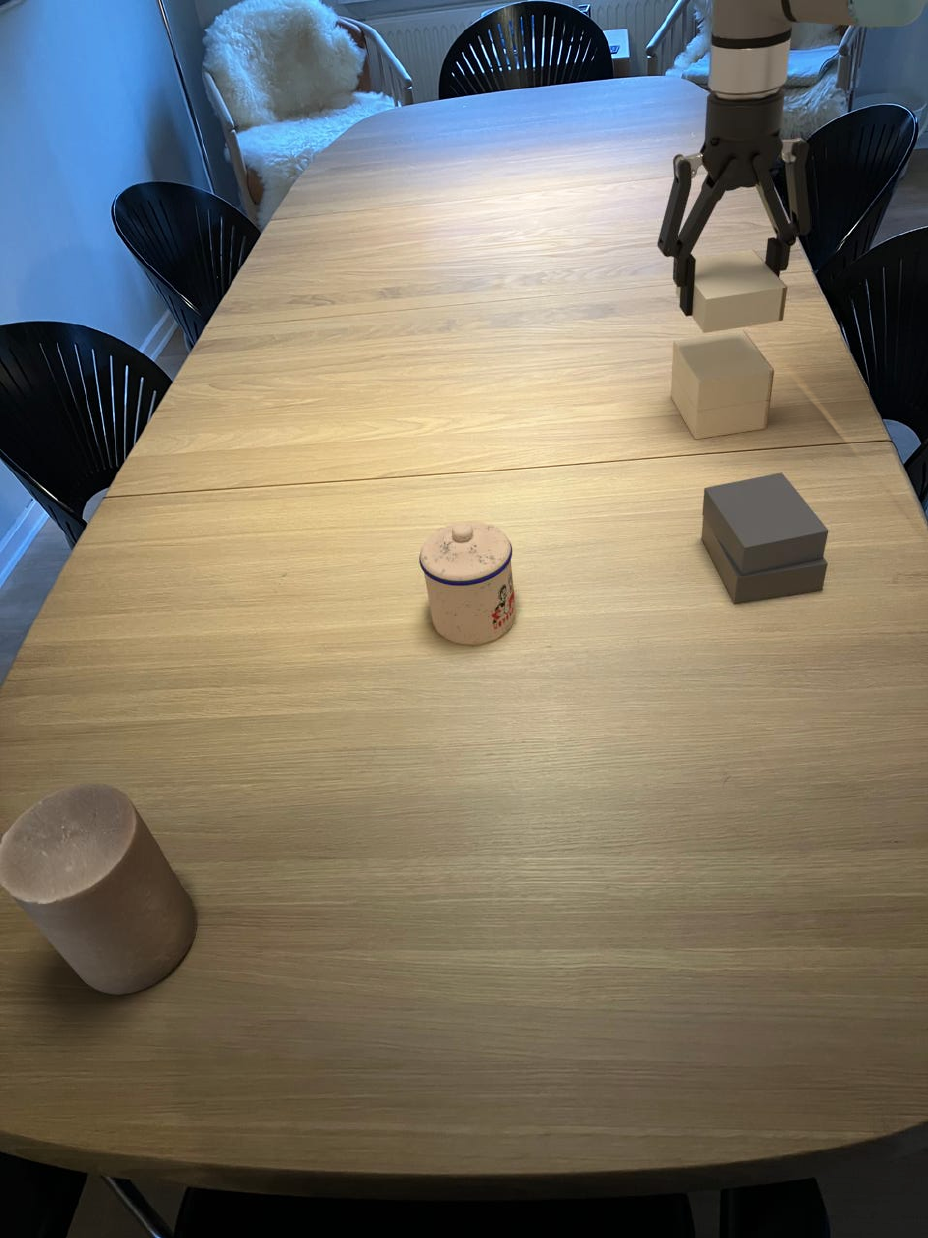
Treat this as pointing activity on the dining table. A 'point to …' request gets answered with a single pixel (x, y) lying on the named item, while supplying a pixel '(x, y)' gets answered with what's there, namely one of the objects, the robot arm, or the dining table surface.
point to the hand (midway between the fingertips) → (727, 304)
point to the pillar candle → (98, 887)
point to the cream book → (736, 292)
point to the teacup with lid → (469, 582)
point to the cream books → (721, 384)
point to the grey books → (763, 538)
